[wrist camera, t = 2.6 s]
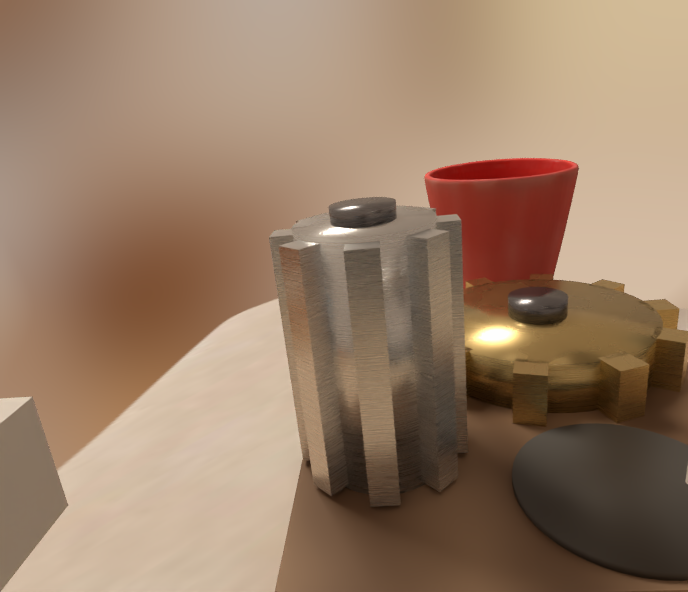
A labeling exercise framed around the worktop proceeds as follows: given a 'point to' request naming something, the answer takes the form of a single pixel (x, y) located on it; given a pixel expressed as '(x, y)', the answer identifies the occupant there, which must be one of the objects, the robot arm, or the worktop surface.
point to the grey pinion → (375, 345)
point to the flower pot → (506, 213)
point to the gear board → (514, 512)
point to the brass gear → (568, 347)
